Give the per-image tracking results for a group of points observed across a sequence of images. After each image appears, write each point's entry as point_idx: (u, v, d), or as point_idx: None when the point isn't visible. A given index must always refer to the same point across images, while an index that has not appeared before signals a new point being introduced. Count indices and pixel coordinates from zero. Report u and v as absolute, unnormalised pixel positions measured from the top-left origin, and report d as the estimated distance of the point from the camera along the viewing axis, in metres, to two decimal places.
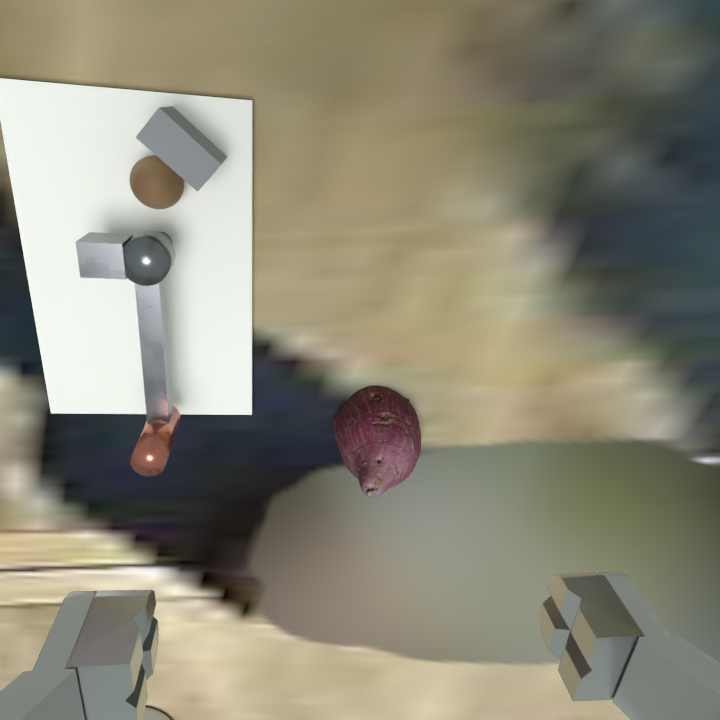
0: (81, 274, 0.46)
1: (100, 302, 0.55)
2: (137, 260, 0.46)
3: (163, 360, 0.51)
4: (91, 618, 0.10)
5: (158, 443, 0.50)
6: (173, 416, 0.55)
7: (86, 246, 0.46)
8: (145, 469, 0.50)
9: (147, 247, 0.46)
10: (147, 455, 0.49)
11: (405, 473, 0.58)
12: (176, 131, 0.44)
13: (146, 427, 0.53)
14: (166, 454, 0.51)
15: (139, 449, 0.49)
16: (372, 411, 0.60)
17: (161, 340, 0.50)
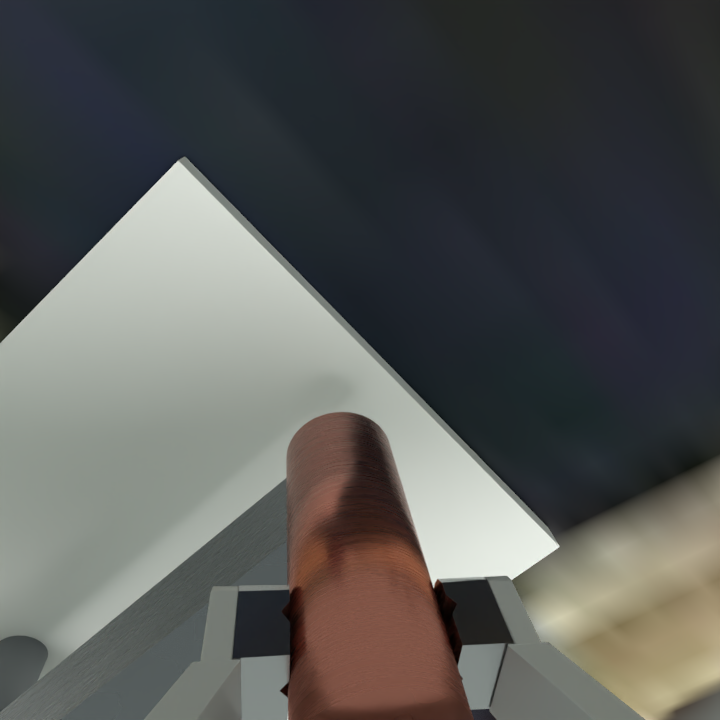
0: None
1: None
2: None
3: (100, 691, 0.14)
4: (241, 611, 0.10)
5: None
6: (286, 490, 0.14)
7: None
8: None
9: None
10: None
11: None
12: None
13: None
14: (304, 678, 0.09)
15: None
16: None
17: None
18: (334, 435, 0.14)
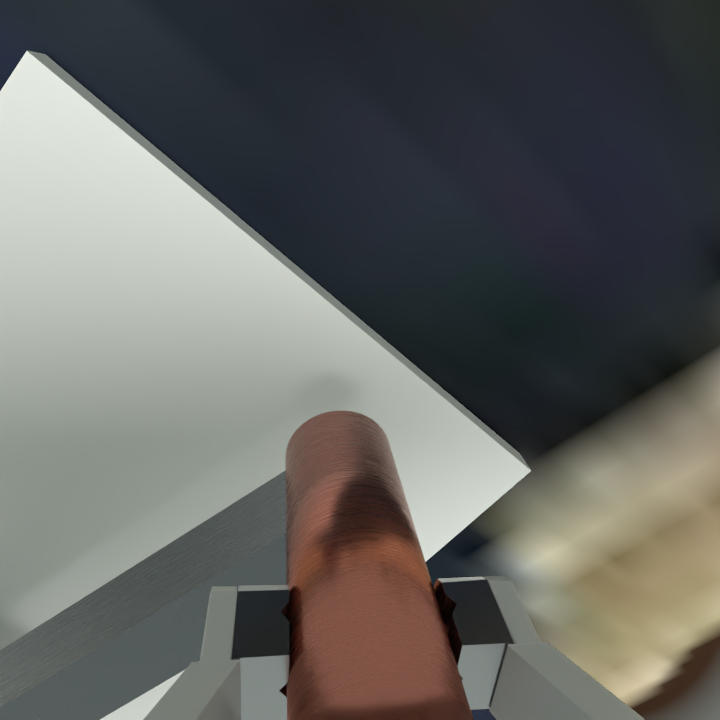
0: None
1: None
2: None
3: (68, 668, 0.14)
4: (241, 611, 0.10)
5: None
6: (287, 483, 0.14)
7: None
8: None
9: None
10: None
11: None
12: None
13: None
14: (310, 668, 0.09)
15: None
16: None
17: (11, 707, 0.14)
18: (341, 433, 0.14)
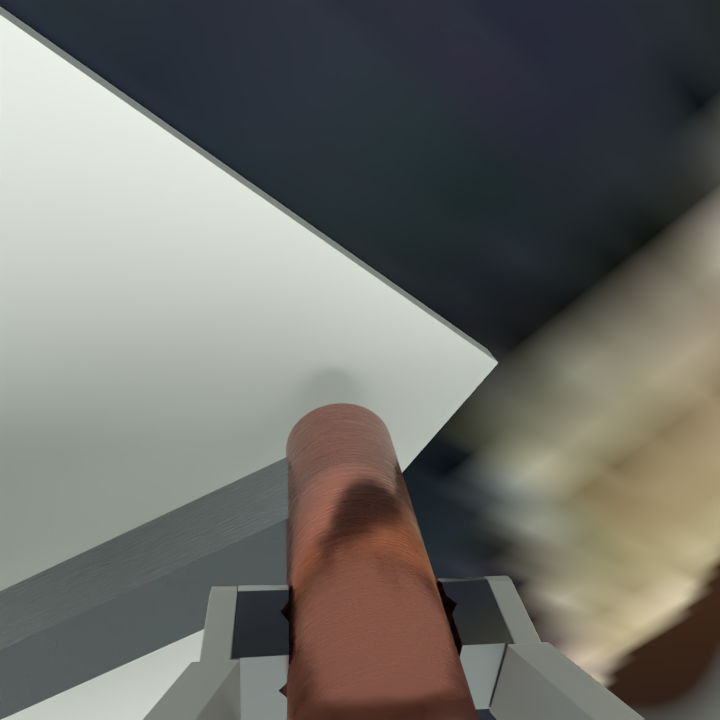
0: None
1: None
2: None
3: (38, 635, 0.13)
4: (240, 612, 0.10)
5: (287, 681, 0.09)
6: (290, 469, 0.14)
7: None
8: None
9: None
10: None
11: None
12: None
13: None
14: (321, 653, 0.09)
15: None
16: None
17: None
18: (350, 425, 0.14)
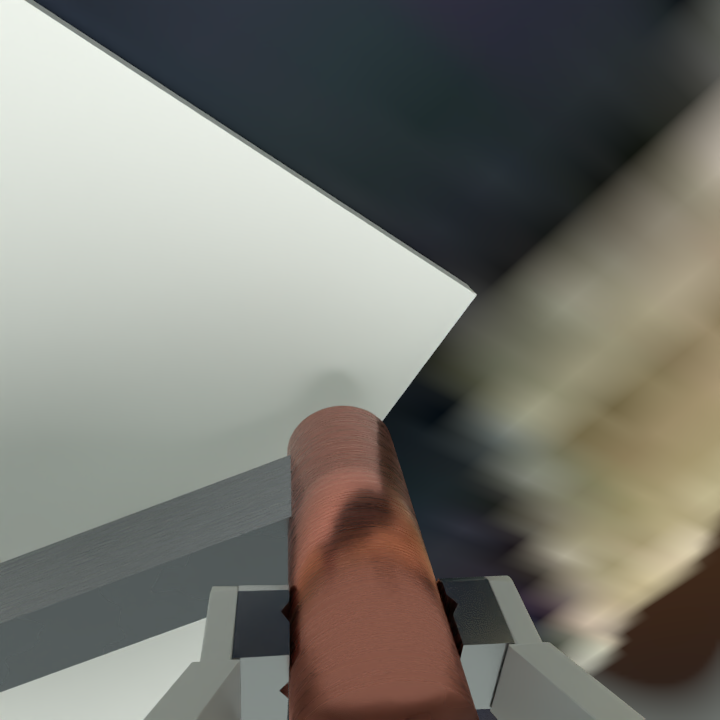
0: None
1: (128, 495, 0.20)
2: None
3: (24, 617, 0.13)
4: (241, 612, 0.10)
5: (289, 679, 0.09)
6: (294, 467, 0.14)
7: None
8: None
9: None
10: None
11: None
12: None
13: None
14: (330, 653, 0.09)
15: None
16: None
17: None
18: (357, 428, 0.14)
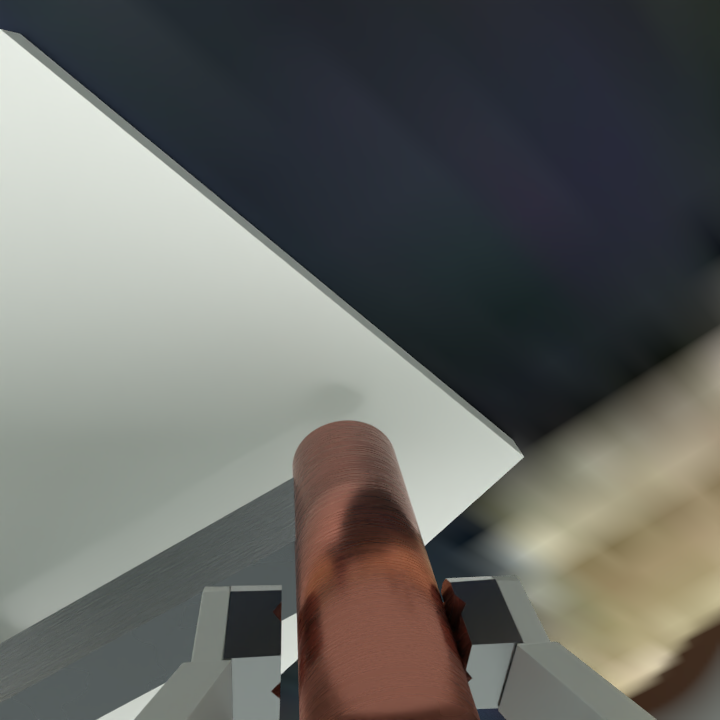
0: None
1: None
2: None
3: (69, 667, 0.14)
4: (233, 612, 0.10)
5: (299, 704, 0.10)
6: (296, 490, 0.14)
7: None
8: None
9: None
10: None
11: None
12: None
13: None
14: (326, 677, 0.09)
15: None
16: None
17: (9, 704, 0.14)
18: (351, 443, 0.15)
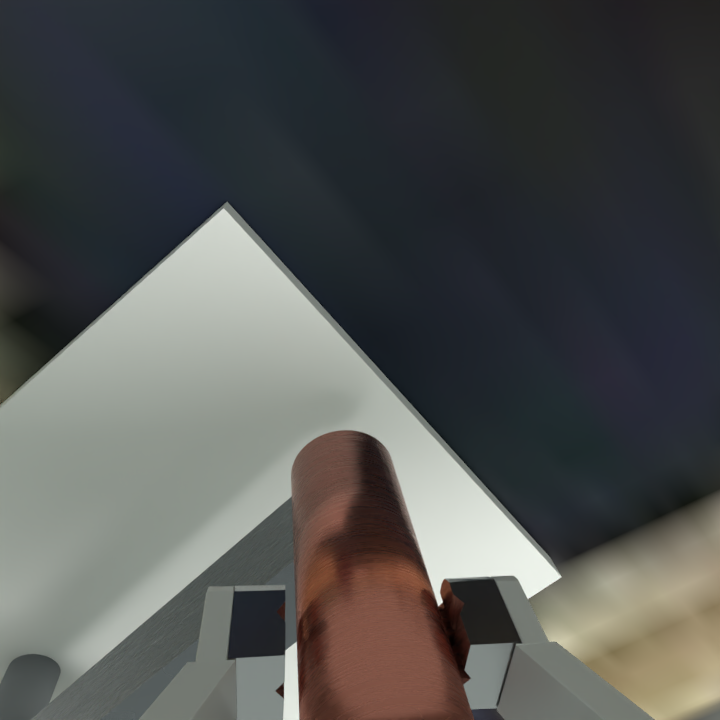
0: None
1: None
2: None
3: (115, 710, 0.15)
4: (237, 612, 0.10)
5: None
6: (292, 509, 0.15)
7: None
8: None
9: None
10: None
11: None
12: None
13: None
14: (314, 699, 0.09)
15: None
16: None
17: None
18: (337, 454, 0.15)
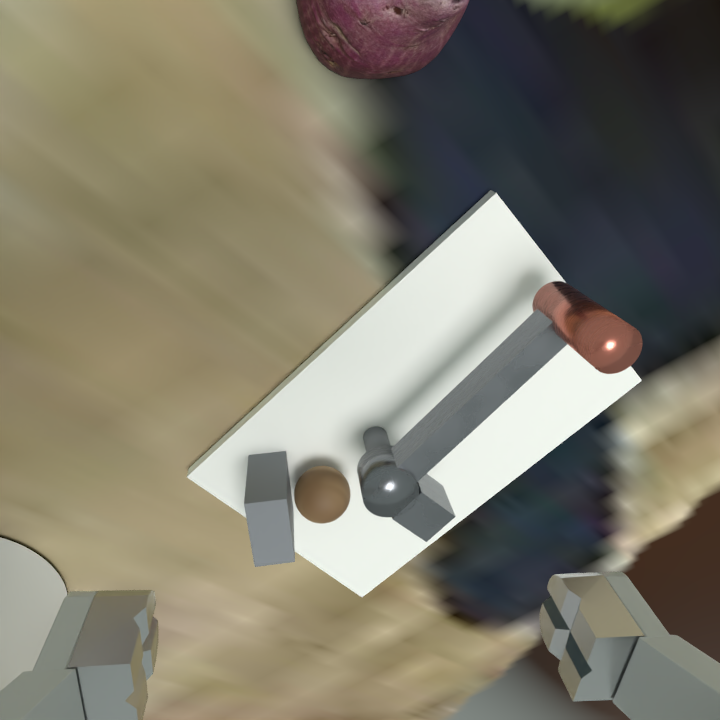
0: (451, 518, 0.41)
1: (479, 431, 0.47)
2: (394, 500, 0.39)
3: (476, 395, 0.37)
4: (91, 618, 0.10)
5: (581, 350, 0.32)
6: (542, 310, 0.36)
7: (422, 534, 0.41)
8: (629, 343, 0.31)
9: (374, 504, 0.39)
10: (606, 359, 0.31)
11: None
12: (258, 546, 0.41)
13: None
14: (590, 333, 0.31)
15: (603, 372, 0.32)
16: (345, 60, 0.31)
17: (455, 416, 0.37)
18: (559, 287, 0.36)
